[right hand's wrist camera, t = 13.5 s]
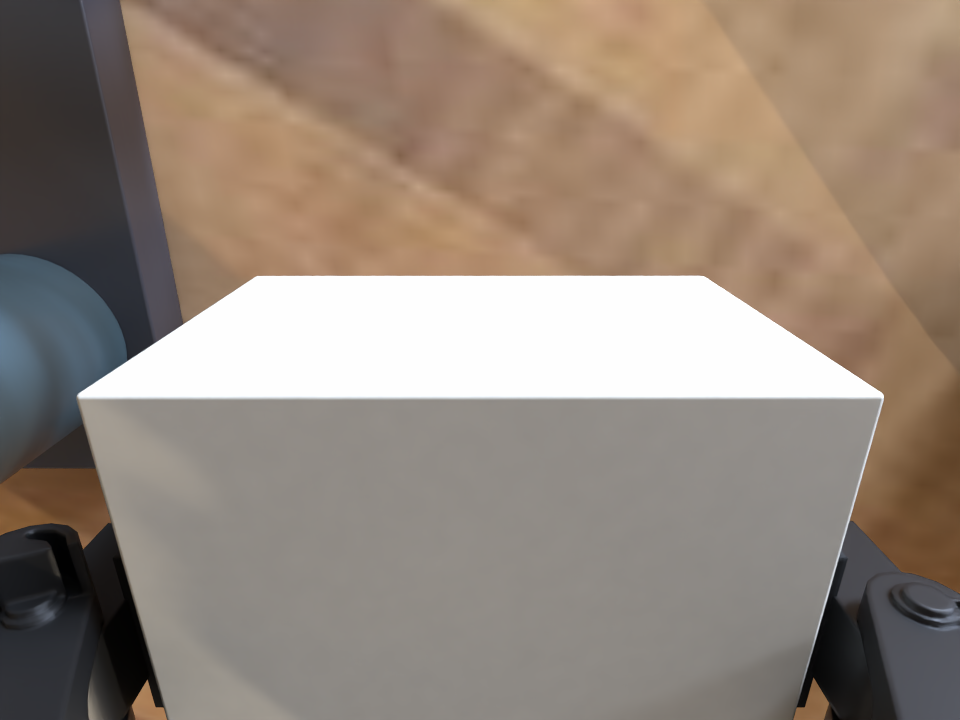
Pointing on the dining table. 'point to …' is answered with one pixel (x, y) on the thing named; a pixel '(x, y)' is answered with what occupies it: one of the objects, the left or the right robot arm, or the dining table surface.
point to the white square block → (480, 499)
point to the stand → (72, 225)
